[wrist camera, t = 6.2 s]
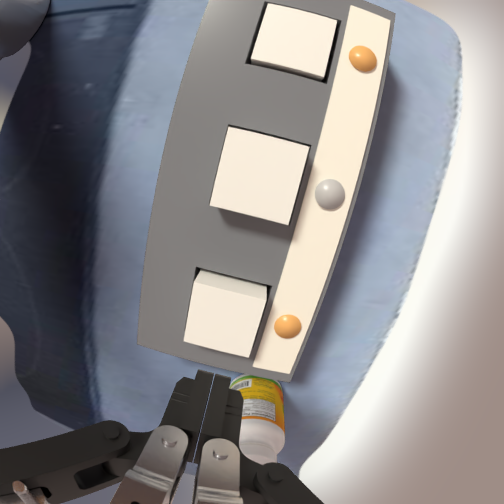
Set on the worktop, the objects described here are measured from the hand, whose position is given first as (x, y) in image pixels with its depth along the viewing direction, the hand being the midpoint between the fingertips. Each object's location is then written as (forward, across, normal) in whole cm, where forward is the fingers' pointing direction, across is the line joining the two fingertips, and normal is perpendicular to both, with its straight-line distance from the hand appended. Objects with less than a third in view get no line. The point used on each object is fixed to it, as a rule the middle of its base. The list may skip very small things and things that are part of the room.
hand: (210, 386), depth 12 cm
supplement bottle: (+13, -4, +11) cm, 18 cm away
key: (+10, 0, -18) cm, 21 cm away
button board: (+13, 0, -9) cm, 15 cm away
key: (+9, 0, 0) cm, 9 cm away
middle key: (+9, 0, -9) cm, 13 cm away
